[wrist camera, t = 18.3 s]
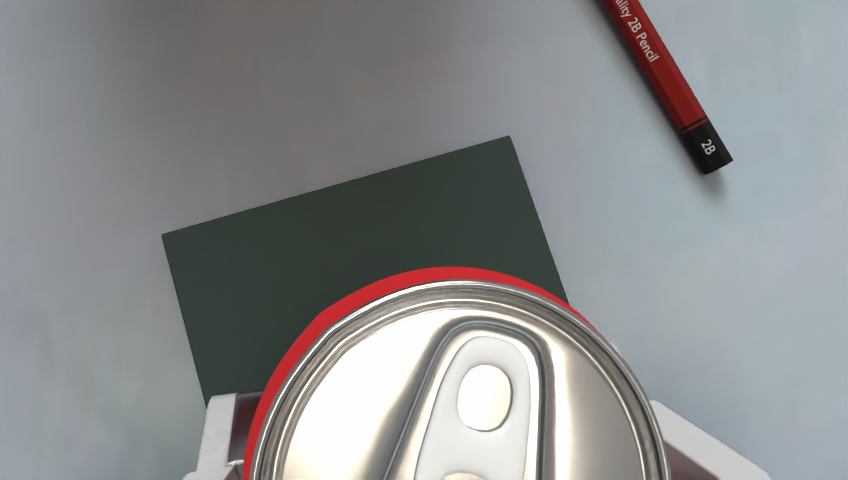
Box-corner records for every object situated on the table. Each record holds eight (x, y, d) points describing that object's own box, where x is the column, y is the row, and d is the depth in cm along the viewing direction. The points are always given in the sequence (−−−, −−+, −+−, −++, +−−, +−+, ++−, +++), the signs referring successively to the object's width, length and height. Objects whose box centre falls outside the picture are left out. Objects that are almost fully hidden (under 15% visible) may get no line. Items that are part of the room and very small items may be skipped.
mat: (506, 139, 20) (510, 134, 20) (646, 537, 18) (653, 543, 18) (166, 236, 19) (160, 234, 18) (283, 682, 17) (280, 693, 16)
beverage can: (304, 453, 17) (157, 709, 6) (347, 288, 18) (297, 210, 6) (468, 490, 18) (656, 811, 6) (502, 326, 19) (724, 315, 7)
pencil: (534, -151, 22) (540, -173, 21) (721, 165, 21) (737, 158, 20) (514, -142, 22) (519, -163, 21) (700, 176, 21) (716, 170, 20)
